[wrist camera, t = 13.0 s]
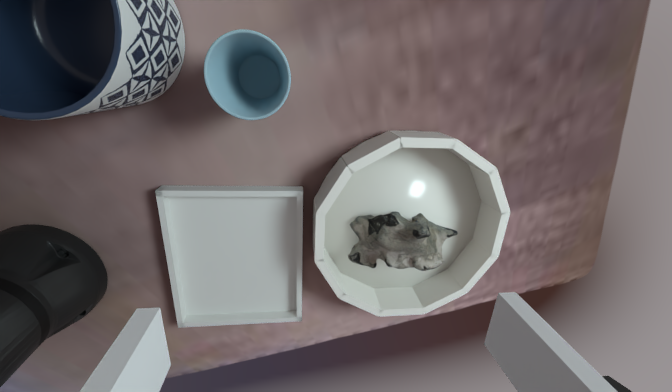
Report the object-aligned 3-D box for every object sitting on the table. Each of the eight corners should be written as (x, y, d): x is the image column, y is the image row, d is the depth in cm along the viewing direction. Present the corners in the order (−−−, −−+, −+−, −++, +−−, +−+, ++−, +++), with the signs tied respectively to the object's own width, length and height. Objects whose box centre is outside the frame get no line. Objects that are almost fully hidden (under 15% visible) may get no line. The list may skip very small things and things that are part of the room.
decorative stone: (351, 275, 47) (364, 305, 37) (337, 218, 46) (346, 234, 36) (449, 247, 48) (486, 270, 39) (438, 191, 47) (473, 200, 37)
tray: (182, 318, 48) (178, 327, 47) (161, 185, 41) (155, 190, 39) (301, 312, 51) (301, 321, 49) (302, 186, 43) (303, 191, 41)
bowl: (311, 292, 50) (312, 319, 44) (314, 127, 41) (317, 134, 35) (464, 286, 53) (483, 311, 48) (499, 132, 44) (529, 140, 38)
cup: (305, 77, 38) (307, 77, 29) (264, 122, 40) (253, 137, 30) (257, 27, 36) (242, 9, 26) (215, 77, 37) (186, 77, 27)
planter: (178, -47, 32) (96, -134, 19) (194, 108, 38) (139, 125, 25) (7, -66, 30) (-218, -179, 17) (50, 102, 36) (-95, 116, 23)
